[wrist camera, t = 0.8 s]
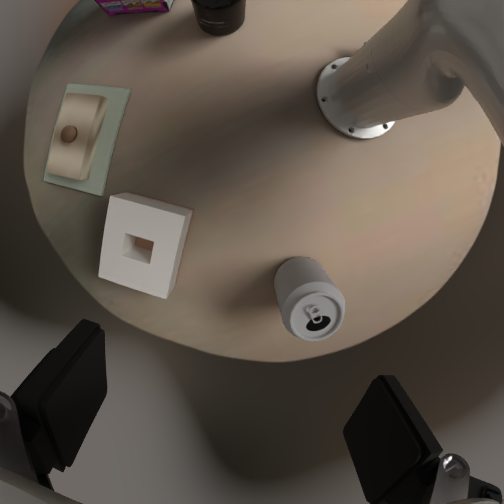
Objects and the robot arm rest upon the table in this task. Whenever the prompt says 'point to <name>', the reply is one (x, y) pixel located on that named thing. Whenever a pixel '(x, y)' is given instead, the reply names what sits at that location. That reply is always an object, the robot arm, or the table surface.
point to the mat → (105, 139)
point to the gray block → (144, 243)
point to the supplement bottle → (219, 15)
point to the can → (308, 299)
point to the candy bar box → (134, 6)
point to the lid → (77, 135)
